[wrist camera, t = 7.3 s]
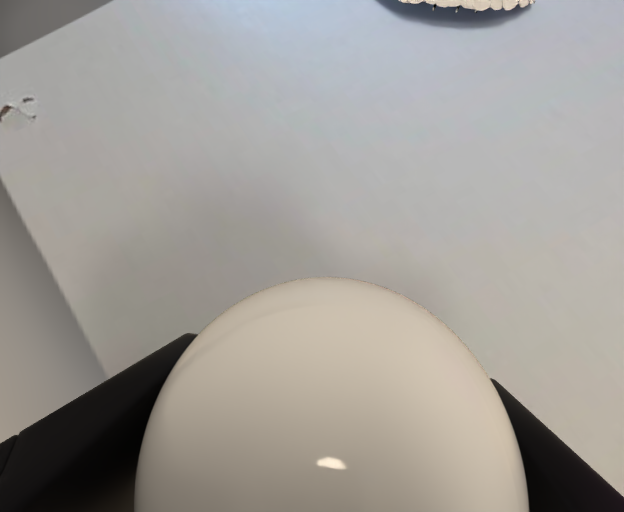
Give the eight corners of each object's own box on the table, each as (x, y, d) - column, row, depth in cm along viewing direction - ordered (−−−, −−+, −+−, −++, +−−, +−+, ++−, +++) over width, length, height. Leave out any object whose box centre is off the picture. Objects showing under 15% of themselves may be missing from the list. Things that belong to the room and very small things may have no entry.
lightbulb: (382, 315, 15) (532, 187, 4) (417, 477, 12) (893, 1032, 2) (242, 336, 14) (39, 259, 4) (255, 504, 12) (-100, 1236, 2)
